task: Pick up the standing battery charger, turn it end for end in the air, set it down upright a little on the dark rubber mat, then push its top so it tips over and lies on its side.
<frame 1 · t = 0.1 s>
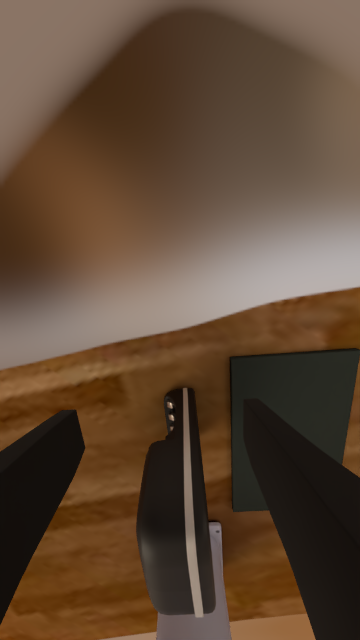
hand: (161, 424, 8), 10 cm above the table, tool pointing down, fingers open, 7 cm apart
mat: (286, 437, 20), on the table
battery charger: (178, 413, 20), on the table
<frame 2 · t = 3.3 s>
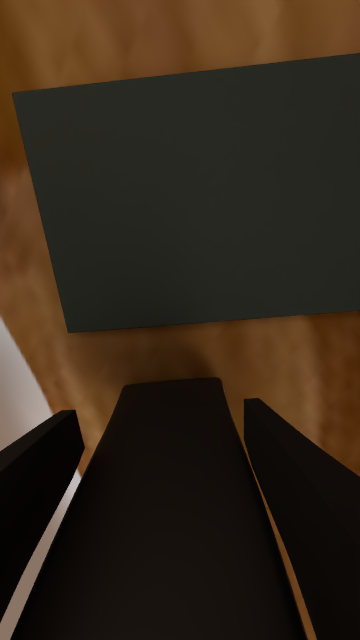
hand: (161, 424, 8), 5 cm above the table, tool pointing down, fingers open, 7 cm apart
mat: (224, 215, 10), on the table
battery charger: (174, 397, 13), on the table, touching gripper
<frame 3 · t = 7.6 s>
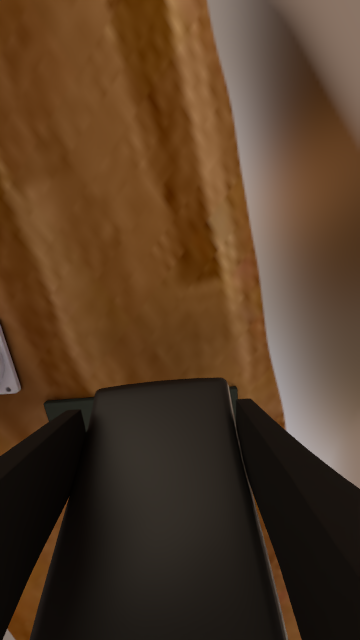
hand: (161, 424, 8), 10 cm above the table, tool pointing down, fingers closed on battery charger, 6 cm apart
mat: (147, 440, 21), on the table
battery charger: (165, 387, 11), point 8 cm above the table, touching gripper
when the fingers open (4 cm above the table, at t = 11.1 s): battery charger moves 1 cm, point 2 cm above the table.
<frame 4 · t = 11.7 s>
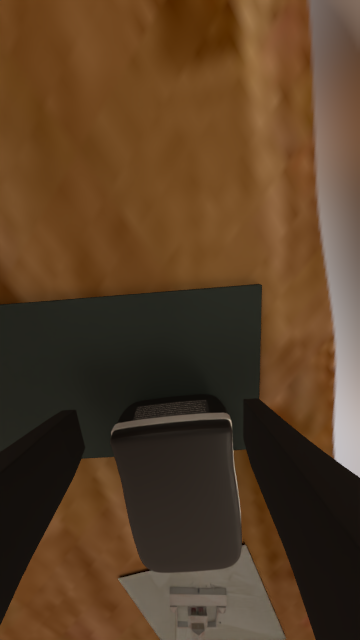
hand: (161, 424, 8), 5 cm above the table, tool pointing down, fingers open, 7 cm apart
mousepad: (171, 580, 19), on the table
mat: (113, 381, 13), on the table
battery charger: (170, 403, 11), point 2 cm above the table
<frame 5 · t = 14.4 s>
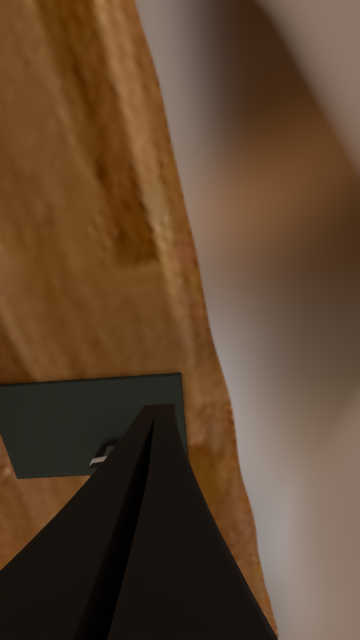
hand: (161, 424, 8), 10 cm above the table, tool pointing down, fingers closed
mat: (94, 427, 21), on the table
battery charger: (126, 444, 19), point 2 cm above the table
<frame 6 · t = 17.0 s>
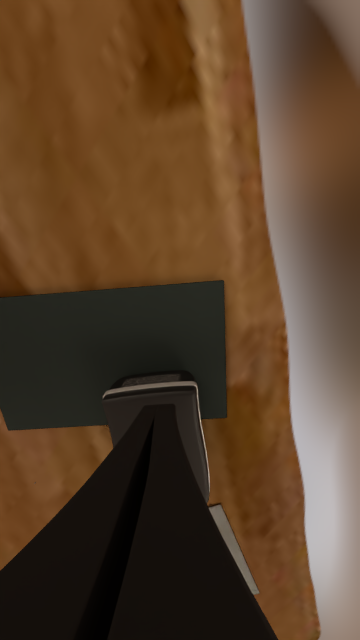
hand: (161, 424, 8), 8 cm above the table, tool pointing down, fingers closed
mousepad: (157, 539, 21), on the table
mat: (106, 361, 16), on the table
battery charger: (151, 375, 14), point 2 cm above the table
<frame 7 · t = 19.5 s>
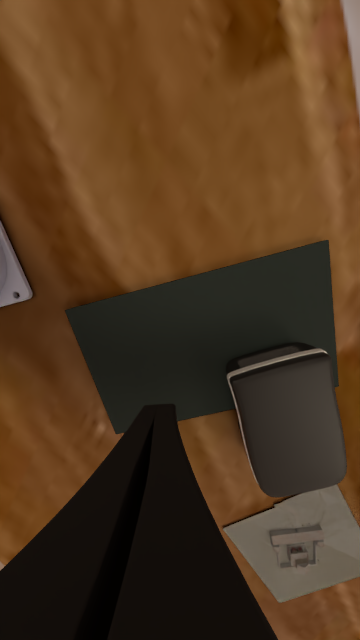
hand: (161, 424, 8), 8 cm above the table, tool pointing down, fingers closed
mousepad: (269, 526, 21), on the table
mat: (207, 347, 16), on the table
battery charger: (266, 351, 14), point 2 cm above the table
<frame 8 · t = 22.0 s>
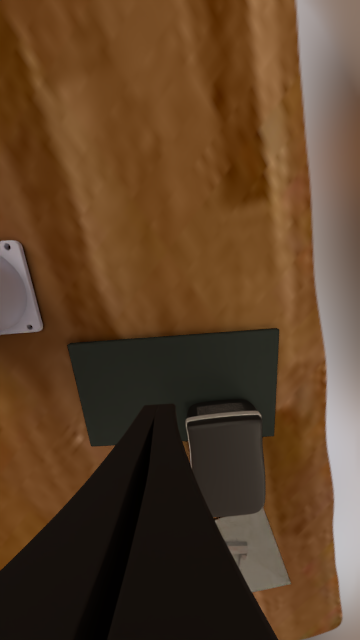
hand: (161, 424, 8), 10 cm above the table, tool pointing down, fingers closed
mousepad: (205, 537, 25), on the table
mat: (177, 390, 19), on the table
battery charger: (219, 404, 18), point 2 cm above the table
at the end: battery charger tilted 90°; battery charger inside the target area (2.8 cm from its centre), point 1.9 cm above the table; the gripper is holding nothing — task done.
